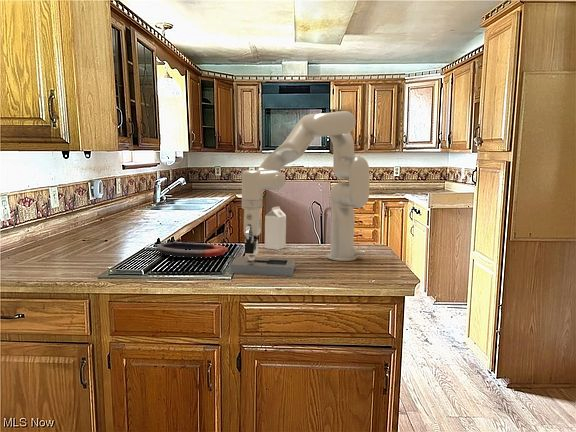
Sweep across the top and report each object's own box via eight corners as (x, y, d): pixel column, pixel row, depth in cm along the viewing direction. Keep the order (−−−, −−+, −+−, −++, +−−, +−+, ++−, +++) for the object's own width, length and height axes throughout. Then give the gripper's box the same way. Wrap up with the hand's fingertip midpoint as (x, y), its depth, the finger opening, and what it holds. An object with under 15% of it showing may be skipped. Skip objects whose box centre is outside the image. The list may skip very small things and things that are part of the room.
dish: (167, 250, 190) (167, 238, 190) (233, 255, 183) (233, 243, 183) (148, 257, 175) (148, 245, 175) (219, 263, 168) (219, 251, 168)
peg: (259, 268, 162) (259, 239, 160) (256, 271, 157) (257, 241, 156) (246, 267, 162) (246, 238, 161) (243, 270, 158) (244, 241, 156)
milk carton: (264, 248, 196) (265, 207, 194) (272, 245, 203) (272, 205, 200) (278, 250, 193) (278, 208, 190) (285, 247, 199) (286, 206, 197)
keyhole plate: (294, 267, 165) (295, 258, 164) (291, 276, 152) (291, 267, 151) (238, 264, 167) (238, 256, 166) (230, 273, 154) (230, 264, 154)
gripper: (258, 207, 147) (257, 256, 150) (266, 202, 165) (265, 246, 167) (236, 206, 148) (236, 255, 151) (246, 201, 165) (246, 245, 168)
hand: (251, 250), depth 159 cm, fingers open, 9 cm apart
